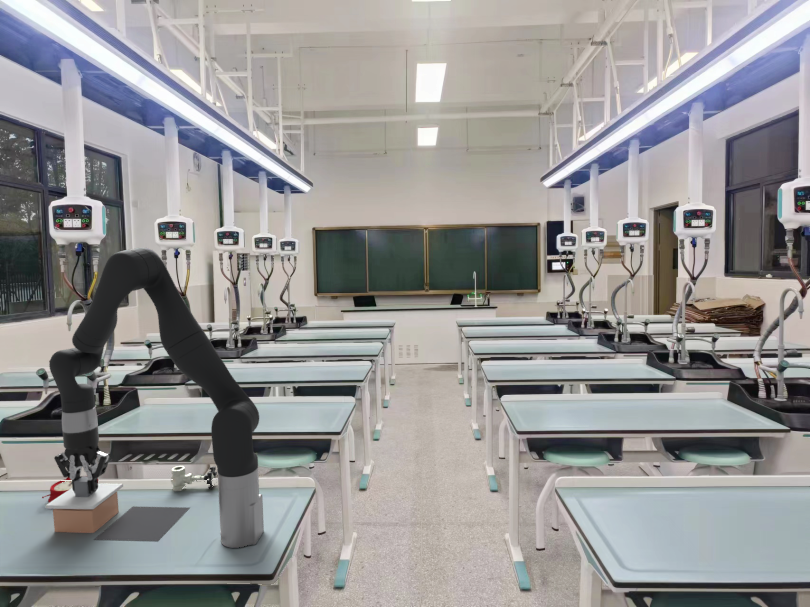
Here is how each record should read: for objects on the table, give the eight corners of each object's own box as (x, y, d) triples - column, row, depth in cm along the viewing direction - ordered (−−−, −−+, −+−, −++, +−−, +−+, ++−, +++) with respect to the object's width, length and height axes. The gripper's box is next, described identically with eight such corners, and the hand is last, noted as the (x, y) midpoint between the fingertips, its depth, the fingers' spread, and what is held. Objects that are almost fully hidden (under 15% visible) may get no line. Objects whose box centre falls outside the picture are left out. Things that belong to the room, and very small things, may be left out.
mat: (190, 508, 137) (190, 507, 137) (158, 542, 122) (158, 541, 122) (132, 507, 138) (132, 506, 138) (93, 541, 123) (93, 539, 123)
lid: (123, 486, 136) (121, 469, 135) (93, 509, 124) (91, 490, 123) (79, 485, 136) (78, 468, 136) (45, 508, 125) (44, 489, 124)
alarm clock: (35, 496, 139) (69, 461, 153) (40, 514, 141) (74, 479, 155) (73, 495, 138) (104, 461, 153) (78, 514, 140) (108, 479, 155)
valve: (167, 495, 145) (211, 493, 146) (166, 473, 145) (209, 471, 146) (176, 485, 152) (217, 483, 153) (174, 463, 151) (216, 462, 152)
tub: (118, 513, 136) (117, 491, 135) (93, 534, 126) (91, 510, 125) (82, 512, 136) (80, 491, 136) (54, 533, 126) (52, 510, 126)
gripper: (116, 421, 132) (121, 486, 133) (64, 421, 132) (69, 485, 134) (97, 432, 124) (102, 499, 126) (42, 431, 125) (48, 499, 127)
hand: (85, 491), depth 130 cm, fingers closed on lid, 3 cm apart
